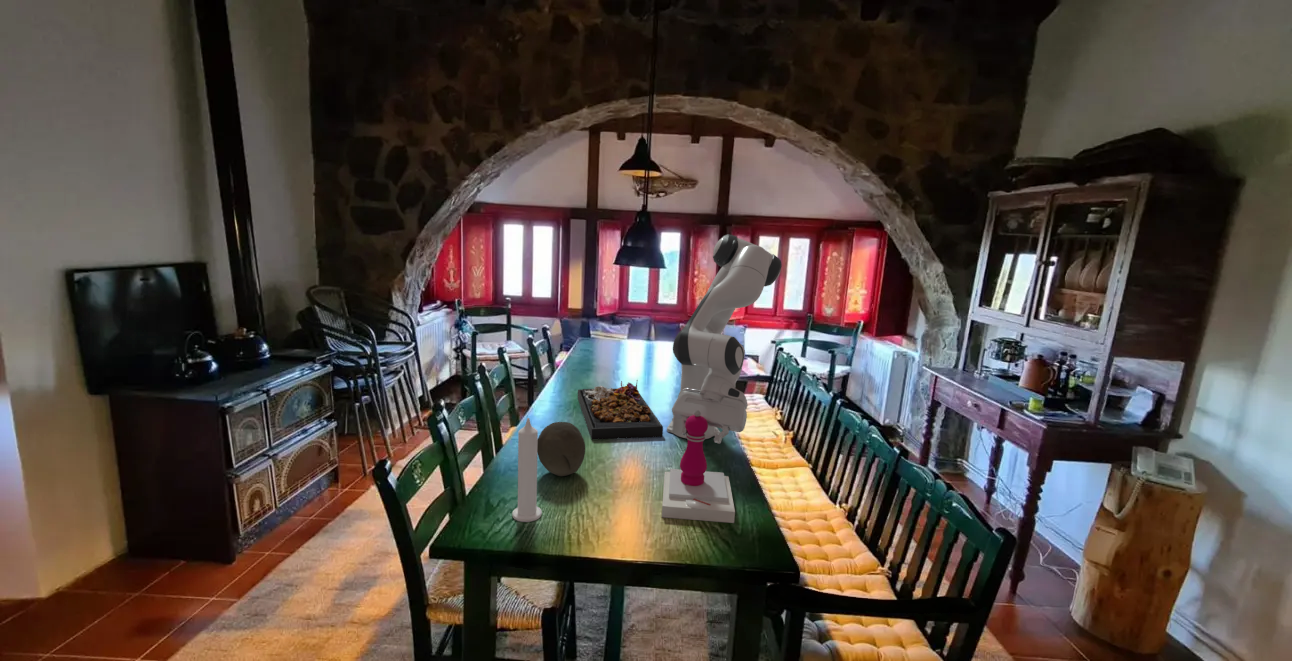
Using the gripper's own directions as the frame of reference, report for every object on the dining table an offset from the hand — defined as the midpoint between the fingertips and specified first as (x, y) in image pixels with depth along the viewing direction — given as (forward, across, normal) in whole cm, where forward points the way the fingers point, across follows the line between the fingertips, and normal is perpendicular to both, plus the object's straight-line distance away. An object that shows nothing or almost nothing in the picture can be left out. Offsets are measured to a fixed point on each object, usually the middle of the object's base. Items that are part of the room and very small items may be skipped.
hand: (700, 438), depth 146 cm
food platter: (-18, -51, +43) cm, 69 cm away
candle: (+34, -32, -10) cm, 48 cm away
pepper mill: (+9, -2, +10) cm, 13 cm away
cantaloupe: (+18, -39, +6) cm, 43 cm away
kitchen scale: (+13, +1, +11) cm, 17 cm away
